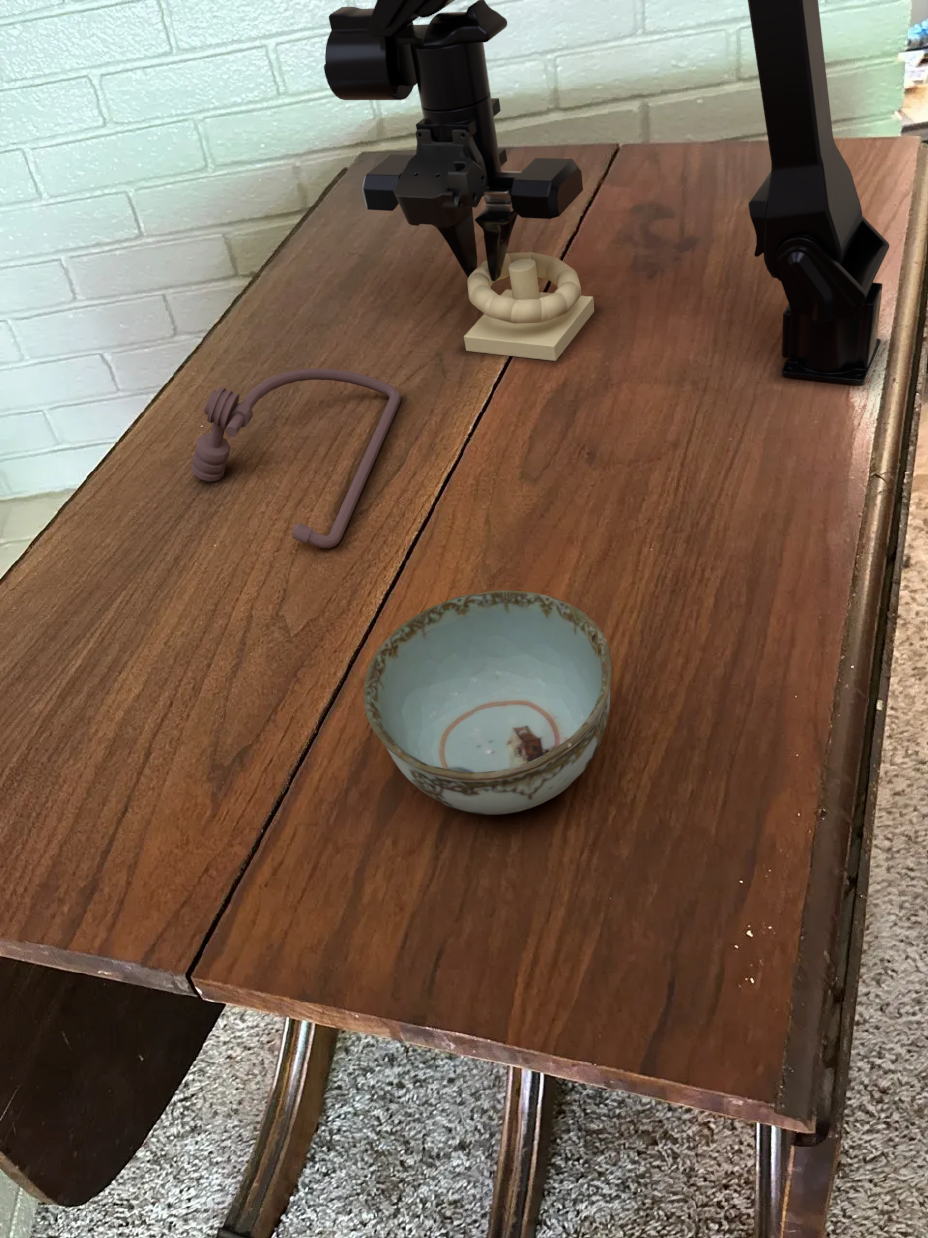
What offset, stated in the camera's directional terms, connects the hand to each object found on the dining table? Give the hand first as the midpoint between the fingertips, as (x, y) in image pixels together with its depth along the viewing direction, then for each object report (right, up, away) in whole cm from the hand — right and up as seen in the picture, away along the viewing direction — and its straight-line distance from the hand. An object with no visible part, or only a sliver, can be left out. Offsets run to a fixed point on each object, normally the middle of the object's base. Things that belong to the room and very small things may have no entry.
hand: (484, 278), depth 98 cm
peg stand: (+4, -4, +2) cm, 6 cm away
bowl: (+1, -40, -35) cm, 53 cm away
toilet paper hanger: (-17, -19, -9) cm, 26 cm away
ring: (+3, -1, -1) cm, 4 cm away
